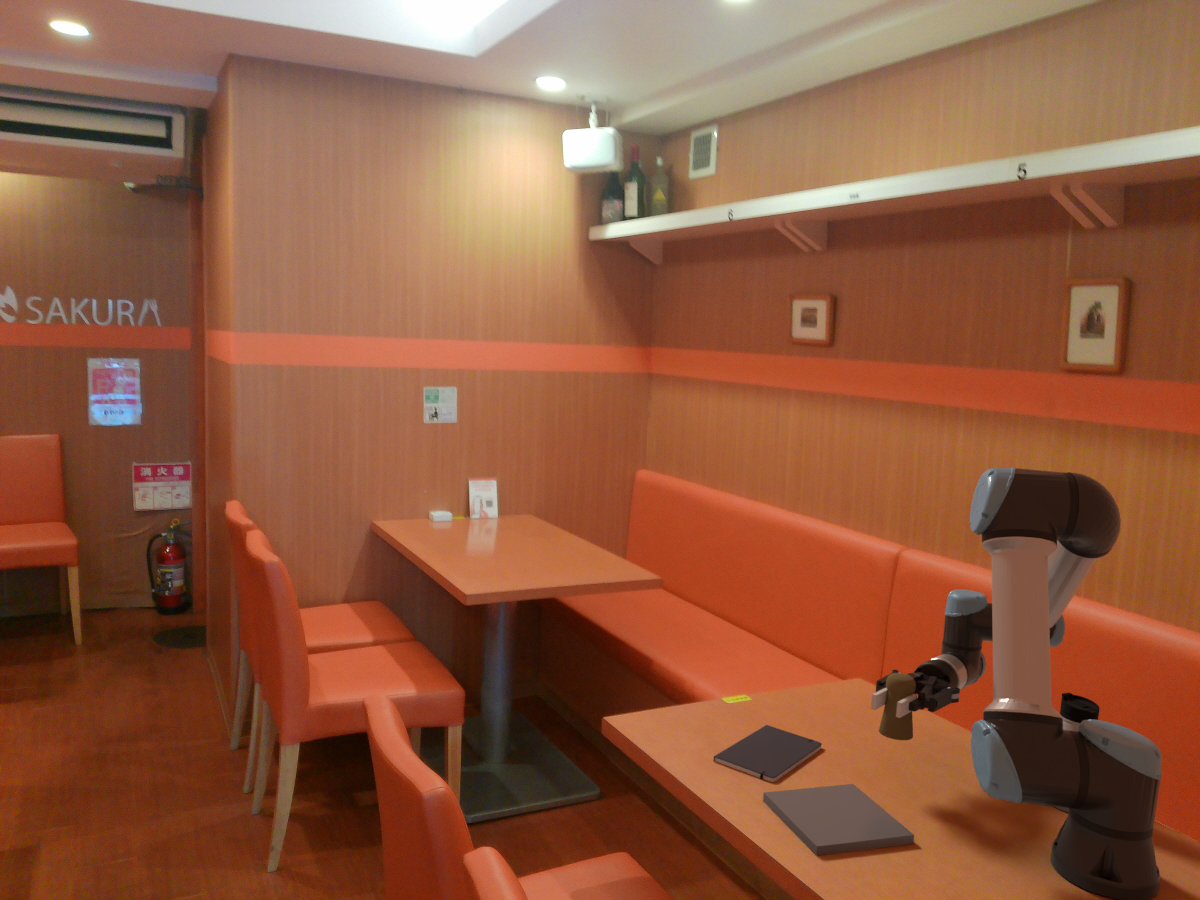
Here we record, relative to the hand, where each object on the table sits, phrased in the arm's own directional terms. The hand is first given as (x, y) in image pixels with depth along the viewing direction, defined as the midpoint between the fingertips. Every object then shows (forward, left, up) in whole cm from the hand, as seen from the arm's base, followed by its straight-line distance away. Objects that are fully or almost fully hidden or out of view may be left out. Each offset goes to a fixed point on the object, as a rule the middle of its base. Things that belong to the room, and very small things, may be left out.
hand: (886, 705), depth 168 cm
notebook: (+20, +11, -18) cm, 29 cm away
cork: (+3, -5, -7) cm, 9 cm away
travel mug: (-9, -34, -17) cm, 39 cm away
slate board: (-6, +12, -17) cm, 22 cm away
